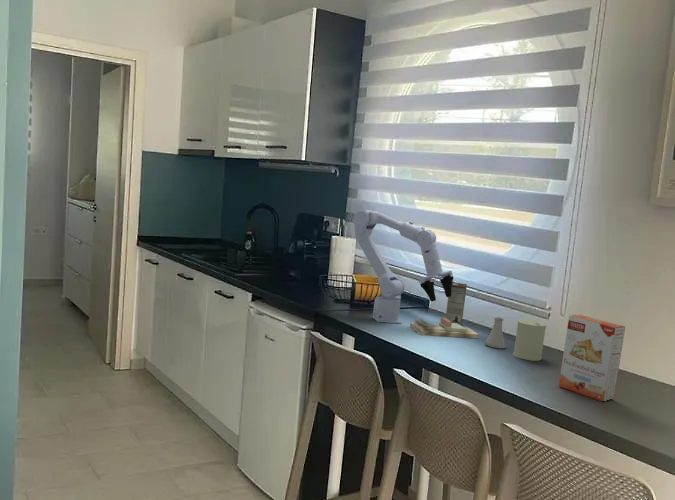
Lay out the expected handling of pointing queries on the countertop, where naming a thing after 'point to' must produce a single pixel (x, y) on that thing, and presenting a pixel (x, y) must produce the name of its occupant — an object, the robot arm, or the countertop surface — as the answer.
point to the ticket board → (439, 330)
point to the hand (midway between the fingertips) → (441, 298)
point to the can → (529, 340)
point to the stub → (451, 326)
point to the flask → (496, 335)
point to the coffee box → (456, 303)
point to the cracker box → (591, 357)
